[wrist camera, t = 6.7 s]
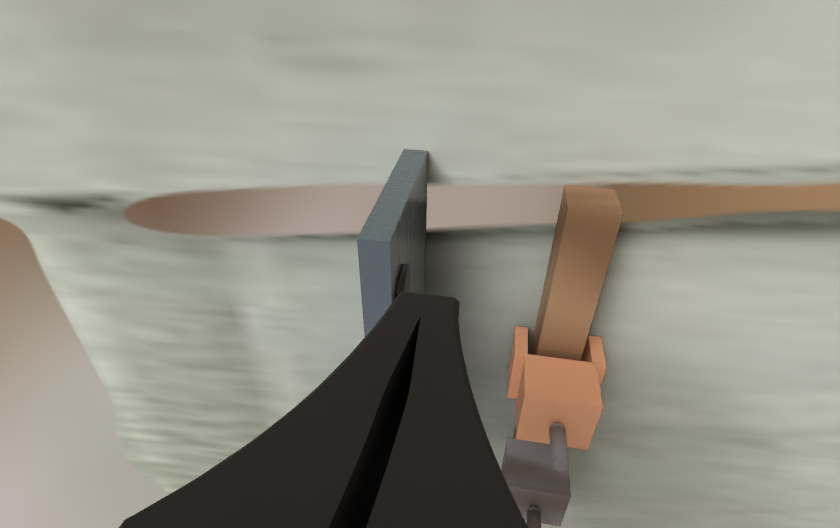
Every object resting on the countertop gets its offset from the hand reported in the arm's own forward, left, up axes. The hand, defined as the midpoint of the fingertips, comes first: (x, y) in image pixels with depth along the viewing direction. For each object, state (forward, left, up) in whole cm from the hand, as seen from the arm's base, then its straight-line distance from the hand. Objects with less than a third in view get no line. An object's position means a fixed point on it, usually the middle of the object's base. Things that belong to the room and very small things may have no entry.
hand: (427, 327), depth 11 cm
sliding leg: (-10, -5, -10) cm, 15 cm away
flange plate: (-9, +2, -10) cm, 14 cm away
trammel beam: (-10, -5, -10) cm, 15 cm away
